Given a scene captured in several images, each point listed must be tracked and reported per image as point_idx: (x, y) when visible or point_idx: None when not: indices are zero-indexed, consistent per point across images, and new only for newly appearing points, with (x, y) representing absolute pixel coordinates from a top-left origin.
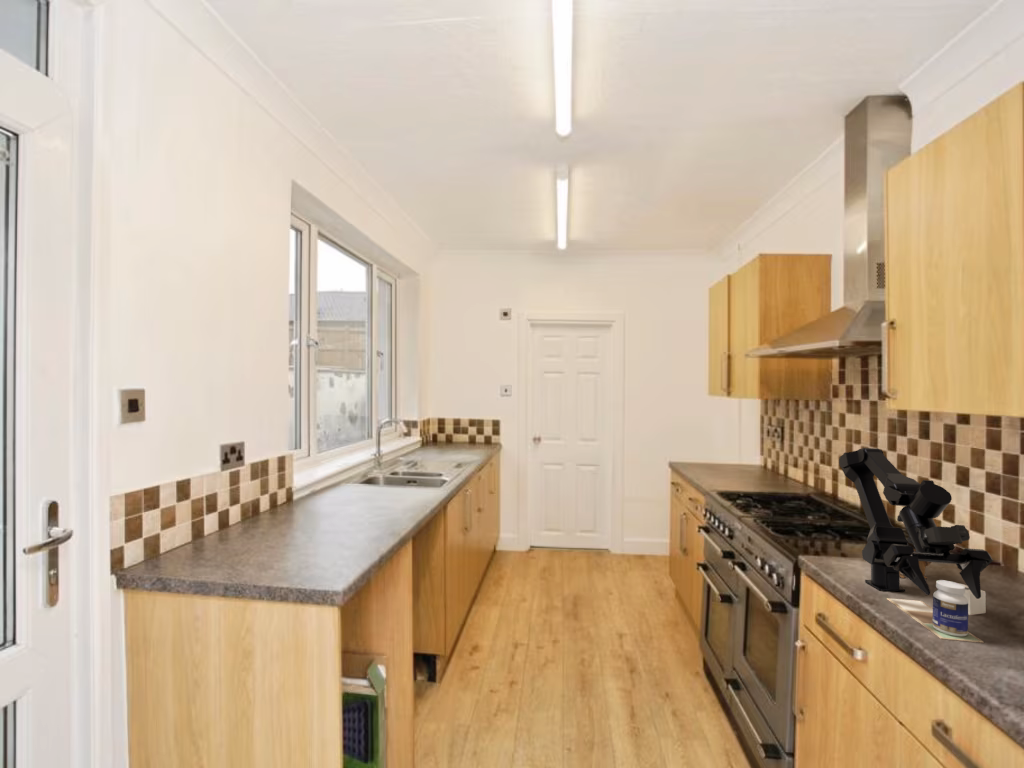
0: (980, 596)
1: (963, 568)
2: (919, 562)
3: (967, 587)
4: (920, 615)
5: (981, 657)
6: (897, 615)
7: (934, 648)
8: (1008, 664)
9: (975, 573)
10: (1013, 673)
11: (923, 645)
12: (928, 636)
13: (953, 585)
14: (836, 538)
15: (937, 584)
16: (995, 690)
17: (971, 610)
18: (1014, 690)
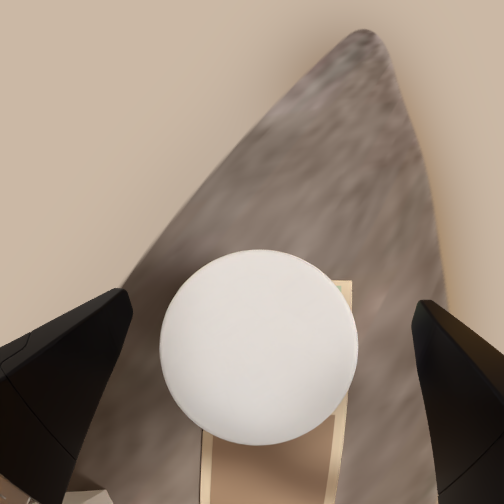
0: (117, 289)
1: (17, 500)
2: None
3: None
4: (297, 480)
5: (299, 171)
6: (382, 469)
7: (407, 205)
8: (250, 147)
9: (2, 362)
10: (274, 109)
11: (429, 219)
12: (383, 295)
13: (247, 319)
14: None
15: (357, 354)
16: (361, 55)
17: (93, 493)
18: (324, 57)
